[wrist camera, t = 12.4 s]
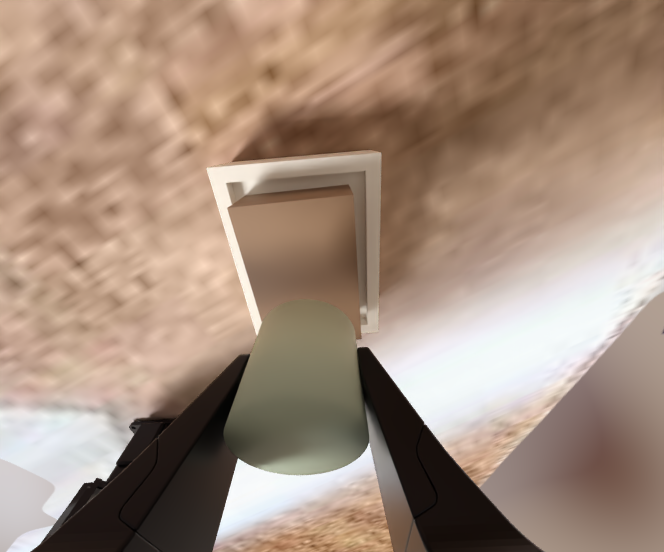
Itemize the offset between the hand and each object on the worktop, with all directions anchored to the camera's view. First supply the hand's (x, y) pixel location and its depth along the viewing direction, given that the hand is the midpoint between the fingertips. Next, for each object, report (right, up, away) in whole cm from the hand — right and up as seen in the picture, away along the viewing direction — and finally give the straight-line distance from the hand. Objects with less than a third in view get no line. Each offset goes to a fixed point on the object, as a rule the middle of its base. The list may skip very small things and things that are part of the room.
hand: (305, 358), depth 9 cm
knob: (0, +1, +1) cm, 1 cm away
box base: (-1, +6, +10) cm, 11 cm away
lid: (-1, +4, +7) cm, 8 cm away
